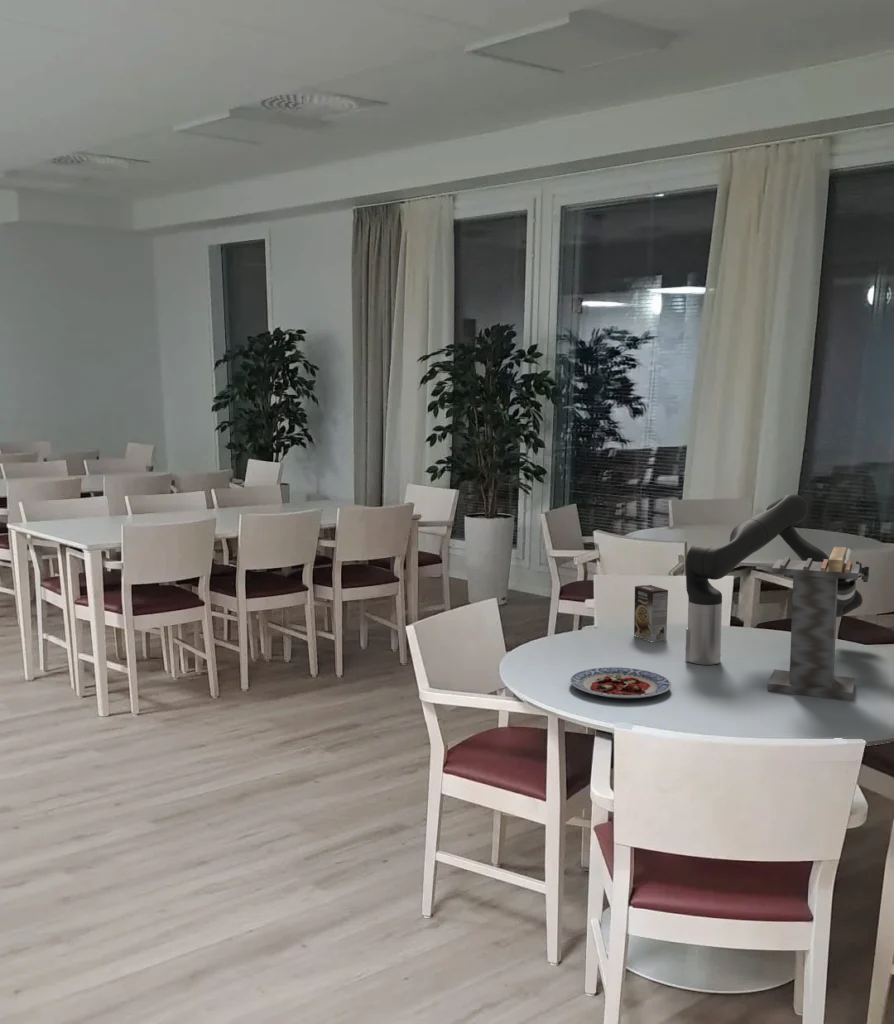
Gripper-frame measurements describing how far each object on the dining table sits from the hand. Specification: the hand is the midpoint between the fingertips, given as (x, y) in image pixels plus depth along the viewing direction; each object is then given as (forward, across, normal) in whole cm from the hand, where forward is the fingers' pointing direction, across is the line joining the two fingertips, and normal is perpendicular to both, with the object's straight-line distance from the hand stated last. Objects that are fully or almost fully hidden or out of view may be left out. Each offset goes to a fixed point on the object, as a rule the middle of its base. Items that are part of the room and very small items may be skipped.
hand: (840, 563), depth 260 cm
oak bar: (+17, 0, +7) cm, 18 cm away
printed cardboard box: (-26, -55, +19) cm, 64 cm away
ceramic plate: (+22, -50, +47) cm, 72 cm away
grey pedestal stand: (+5, -5, +36) cm, 37 cm away
